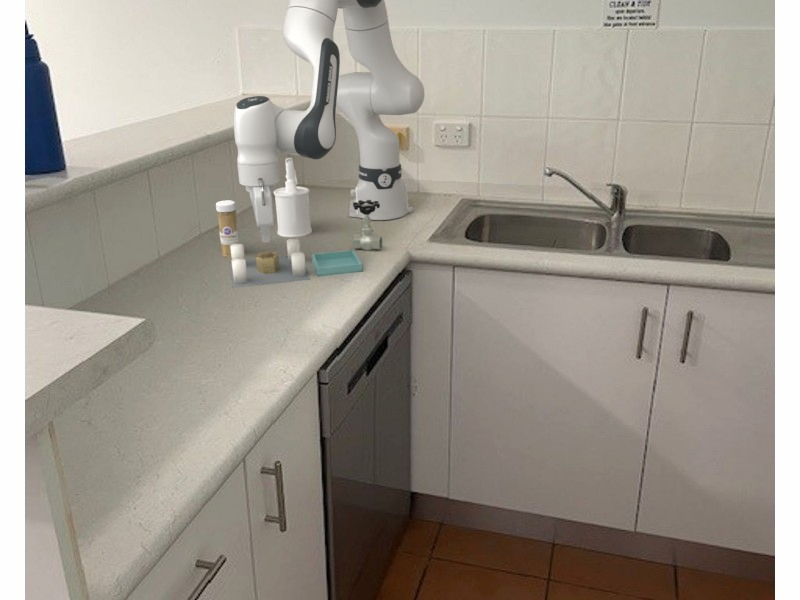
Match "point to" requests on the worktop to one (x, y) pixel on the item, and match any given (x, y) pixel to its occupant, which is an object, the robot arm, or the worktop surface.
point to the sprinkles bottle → (227, 225)
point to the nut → (267, 262)
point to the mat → (259, 279)
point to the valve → (367, 227)
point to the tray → (336, 263)
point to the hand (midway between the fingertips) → (264, 235)
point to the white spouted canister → (292, 206)
